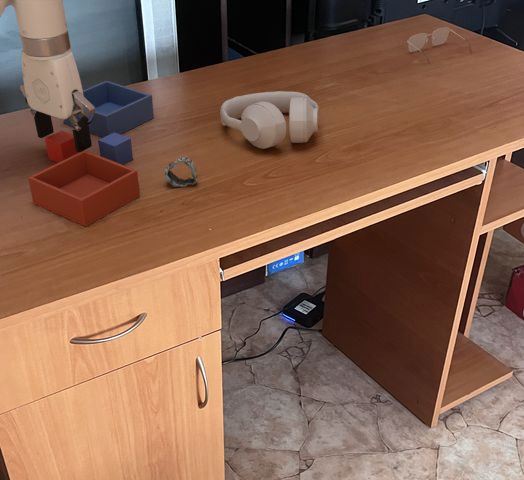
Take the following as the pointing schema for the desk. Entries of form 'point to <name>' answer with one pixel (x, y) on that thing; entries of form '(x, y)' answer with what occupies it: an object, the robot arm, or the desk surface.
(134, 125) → the blue bin
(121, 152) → the blue block
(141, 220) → the desk surface
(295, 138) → the headphones
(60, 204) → the red bin
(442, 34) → the eyeglasses
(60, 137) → the red block
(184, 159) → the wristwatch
